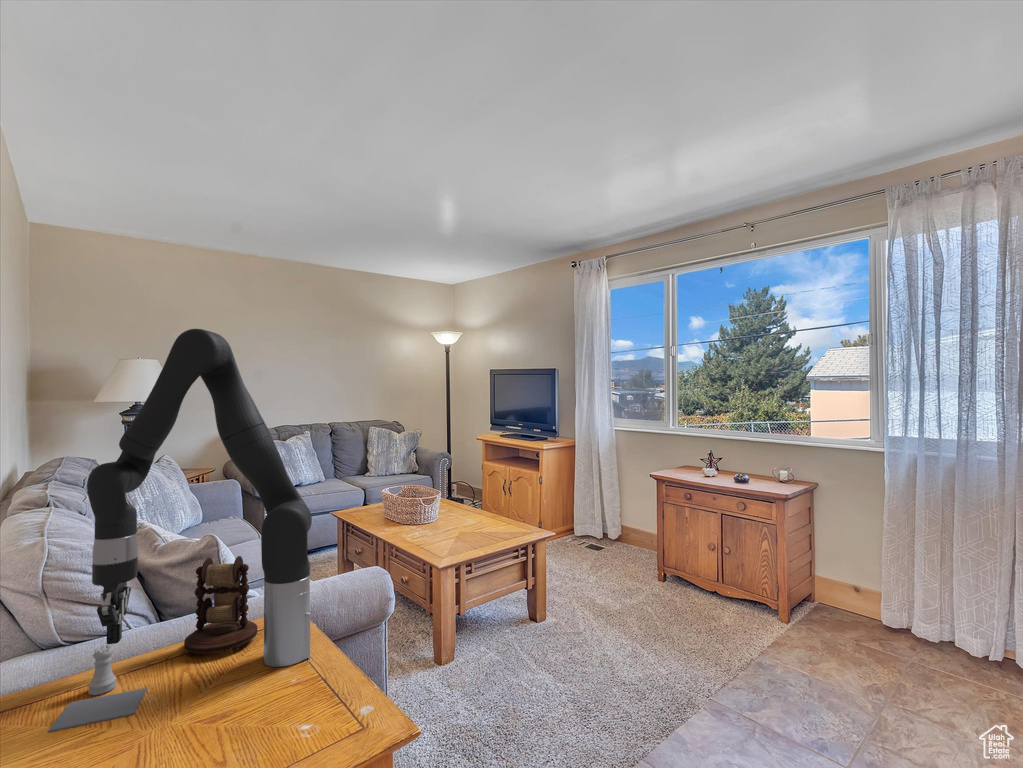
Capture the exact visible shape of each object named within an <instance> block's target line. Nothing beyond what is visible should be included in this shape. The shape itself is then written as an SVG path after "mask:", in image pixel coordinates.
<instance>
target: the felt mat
mask: <svg viewBox="0 0 1023 768" xmlns="http://www.w3.org/2000/svg"><path fill="white" fill-rule="evenodd" d="M146 692H148V687H145V688H140V689H139V688H138V689H134V690H129V691H128V690H127V691H123V692H118V693H112V694H108V695H101V696H99V697H93V698H87V699H81V700H77V701H71V702H69V703H68V704H67V706H66V707H64V709H63V711H62V712H61V713H60V714H59V716H58V718H57V719H56V720H55V721H54V723H52V725H51V727H50V728H49V729H48V730H47V732H48V733H53V732H57V731H62V730H67V729H70V728H71V729H72V728H76V727H81V726H86V725H92V724H96V723H101V722H105V721H111V720H114V719H115V720H116V719H119V718H124V717H130V716H133V715H135V714H136V712H137V710H138V708H139V705H140V704H141V701H142V700H143V698H144V696H145V694H146Z"/></svg>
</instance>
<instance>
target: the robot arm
mask: <svg viewBox="0 0 1023 768" xmlns="http://www.w3.org/2000/svg"><path fill="white" fill-rule="evenodd" d="M199 377H200V378H201V380H202V381H203V383H204V385H205V388H207V390H208V392H209V394H210V397H211V400H212V403H213V411H214V417H215V423H216V429H217V432H218V435H219V438H220V440H221V442H222V444H223V446H224V448H225V451H226V453H227V454H228V456H229V458H230V459H231V461H232V463H233V464H234V465H235V467H236V468H237V470H238V471H239V472H240V473H241V474H242V476H244V477H245V479H246V480H248V482H249V483H250V484H251V486H252V487H253V488H254V489H255V491H256V492H257V495H258V496H259V498H260V501H261V503H262V505H263V507H264V511H265V513H266V516H265V517H264V519H263V521H262V524H261V533H260V537H261V538H260V544H261V545H260V548H261V549H260V550H261V567H262V571H263V578H264V579H263V580H264V583H263V584H264V585H263V593H264V595H263V608H264V609H263V663H264V665H267V666H269V667H273V668H280V667H288V666H292V665H295V664H297V663H301V662H302V661H304V660H307V658H308V659H310V658H311V592H310V591H311V580H310V579H311V562H310V561H309V556H308V553H309V552H308V551H309V550H308V548H309V547H308V533H309V531H310V529H311V527H312V522H313V521H312V520H313V518H312V513H311V511H310V509H309V507H308V506H307V504H306V502H305V501H304V499H303V497H302V496H301V494H300V493H299V492H298V490H297V489H296V487H295V485H294V484H293V482H292V479H290V476H289V475H288V472H287V470H286V467H285V463H284V462H283V460H282V458H281V455H280V453H279V450H278V448H277V446H276V443H275V441H274V438H273V436H272V434H271V432H270V431H269V429H268V427H267V426H268V425H267V423H265V420H264V418H263V417H262V415H261V413H260V411H259V409H258V407H257V405H256V403H255V402H254V400H253V397H252V396H251V394H250V392H249V391H248V389H247V387H246V385H245V383H244V381H243V378H242V375H241V373H240V370H239V368H238V365H237V362H236V358H235V356H234V353H233V350H232V348H231V345H230V343H229V342H228V341H227V340H226V339H225V338H224V336H222V335H221V334H219V333H217V332H213V331H210V330H206V329H202V328H190V329H188V330H185V331H183V332H182V333H180V334H179V335H177V337H176V339H175V340H174V342H173V344H172V346H171V348H170V350H169V353H168V356H167V358H166V360H165V363H164V365H163V366H162V369H161V371H160V373H159V374H158V377H157V380H156V381H155V383H154V386H153V387H152V389H151V391H150V393H149V394H148V396H147V398H146V400H145V401H144V403H143V404H142V406H141V407H140V410H139V411H138V412H137V414H136V415H135V417H134V418H133V420H132V421H131V423H130V424H129V425H128V427H127V429H126V430H125V432H124V433H123V435H122V436H121V437H120V440H119V443H118V445H119V448H120V450H121V453H120V455H119V457H118V458H117V460H115V461H111V462H105V463H101V464H98V465H97V466H95V467H94V468H93V469H92V470H91V472H90V474H89V475H88V478H87V481H86V491H87V496H88V500H89V503H90V508H91V511H92V513H93V516H94V541H93V545H92V565H91V566H92V567H91V568H92V569H91V575H92V576H91V584H93V585H94V586H98V587H102V588H103V590H102V592H101V593H100V597H99V598H100V599H99V601H100V603H101V605H100V606H97V608H96V612H97V613H96V614H97V616H98V618H99V621H100V623H101V627H106V645H114V644H118V643H119V642H120V641H121V640H122V638H123V637H122V636H123V634H122V633H123V621H124V620H125V616H126V615H127V612H128V611H127V610H128V605H129V600H130V594H131V591H132V587H130V586H129V585H128V582H130V581H132V580H134V579H135V578H137V576H138V569H139V565H138V564H139V563H138V562H139V561H138V558H139V541H138V535H137V533H138V529H137V528H138V513H137V509H136V508H135V507H134V506H132V505H128V503H127V502H128V501H127V497H126V494H128V493H131V492H133V491H135V490H137V489H138V488H139V487H140V486H141V485H142V484H143V482H144V481H145V480H146V478H147V477H148V474H149V472H150V470H151V467H152V465H153V462H154V459H155V456H156V453H158V450H160V449H161V447H162V445H163V444H164V443H165V440H166V439H167V438H168V436H169V434H170V433H171V431H172V430H173V427H174V426H175V423H176V422H177V418H178V416H179V412H180V409H181V407H182V404H183V401H184V399H185V398H186V397H185V396H186V395H187V394H188V391H189V389H190V388H191V387H192V385H194V383H195V381H196V380H198V379H199Z"/></svg>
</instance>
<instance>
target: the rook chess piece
mask: <svg viewBox="0 0 1023 768" xmlns="http://www.w3.org/2000/svg"><path fill="white" fill-rule="evenodd" d="M114 651H115V650H114V649H113V648H112V645H111V644H106V647H105V645H102V646H100V647H97V648H96V649H94V653H93V654H92V658H94V659H95V661H94V663H93V665H95V667H94V668H95V669H94V673H93V677H92V679H91V681H90V682H89V684H88V688H89V689H88V690H87V692H88V695H91V696H103V695H104V694H108V693H110V692H111V691H113V690H114V689H115V688H116V686H118V682H117V677H116V675H115V674H114V672H113V669H112V661H113V657H112V654H113V653H114Z"/></svg>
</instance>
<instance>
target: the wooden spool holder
mask: <svg viewBox="0 0 1023 768" xmlns="http://www.w3.org/2000/svg"><path fill="white" fill-rule="evenodd" d="M249 568H250V567H249V565H248V564H246V563H244V560H243V557H242V556H241V555H237V556H236V558H235V559H234V563H221V564H220V563H218V564H215V563H214V561H213V559H212V557H207V558H206V559H204V562H203V563H202V565H200V566H198V567H197V568H196V569H195V574H196V575H197V576H196V579H197V581H196V588H195V590H194V594H195V597H196V598H197V601H196V607H197V608H196V609H195V615H196V620H197V621H196V624H195V628H196V630H194V631H193V632H192V633H190V634H188V635H187V636H186V637H185V639H184V642H183V648H184V650H185V651H186V653H187V655H188V657H191V656H193V654H196V655H200V654H201V655H202V654H203V655H204V654H205V655H207V654H215V653H220V652H225V651H229V650H232V652H233V653H234V654H236V653H237V652H238V650H239V647H241V646H243V645H245V644H247V643H248V642H250V641H251V640H253V639H255V637H257V635H258V625H257V623H255V622H253V621H251V620H248V617H247V615H248V611H249V605H248V604H247V603H248V598H247V595H248V593H249V589H250V585H249V584H248V580H249V579H248V577H247V575H248V574H249V573H248V571H249ZM204 585H205V586H204ZM207 587H208V588H207ZM205 595H213V599H212V598H210V597H206V598H204V597H205ZM203 598H204V599H203ZM213 602H214V603H213Z"/></svg>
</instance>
